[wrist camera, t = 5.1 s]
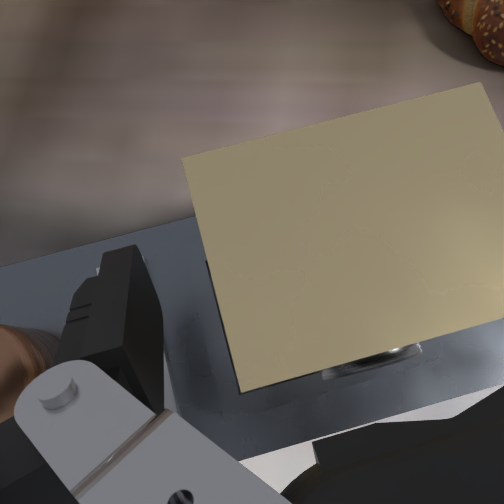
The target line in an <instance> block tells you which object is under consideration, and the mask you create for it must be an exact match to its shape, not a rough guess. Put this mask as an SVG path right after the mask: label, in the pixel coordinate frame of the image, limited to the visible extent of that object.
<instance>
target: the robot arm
mask: <svg viewBox="0 0 504 504" xmlns="http://www.w3.org/2000/svg"><path fill="white" fill-rule="evenodd" d="M69 310H70V312H68V315H67V318H66V325H64V329H63V332H62V336H61V339H60V342H59V346H58V349H57V353H56V356H55V360H54V363H53V366H52V368H50V369H48V370H46V371H45V372H43V373H42V374H40V375H39V376H38V377H36V378H35V379H34V380H33V381H32V382H31V383H30V384H29V385H28V386H27V387H26V388H25V389H24V390H23V392H22V393H21V395H20V396H19V398H18V400H17V402H16V405H15V408H14V416H12V417H11V418H9V419H7V420H5V421H3V422H2V423H0V504H504V386H503V387H502V388H500V389H498V390H497V391H495V392H494V393H492V394H490V395H489V396H487V397H486V398H484V399H483V400H481V401H479V402H478V403H476V404H475V405H473V406H471V407H470V408H468V409H467V410H465V411H463V412H462V413H460V414H459V415H457V416H455V417H453V418H449V419H442V420H424V421H406V422H388V423H375V424H371V425H368V426H365V427H361V428H358V429H354V430H351V431H348V432H344V433H341V434H337V435H334V436H331V437H327V438H324V439H320V440H317V441H314V442H312V445H313V450H314V454H315V459H316V464H315V465H313V466H312V467H310V468H309V469H307V470H306V471H304V472H303V473H302V474H300V475H299V476H298V477H297V478H296V479H294V480H293V481H292V482H291V483H290V484H289V485H288V486H287V487H286V488H285V489H284V490H283V491H282V492H281V493H280V494H279V493H278V492H277V491H275V490H274V489H273V488H271V487H270V486H269V485H268V484H266V483H265V482H264V481H262V480H261V479H260V478H259V477H257V476H256V475H255V474H253V473H252V472H251V471H250V470H248V469H247V468H246V467H244V466H243V465H242V464H241V463H239V462H238V461H237V460H235V459H234V458H233V457H232V456H230V455H229V454H228V453H226V452H225V451H224V450H222V449H221V448H220V447H219V446H217V445H216V444H215V443H213V442H212V441H211V440H210V439H208V438H207V437H206V436H204V435H203V434H202V433H201V432H199V431H198V430H197V429H195V428H194V427H193V426H192V425H190V424H189V423H188V422H186V421H185V420H184V419H183V418H181V417H180V416H179V415H177V414H176V413H175V412H173V411H171V410H169V409H166V408H164V330H163V314H162V309H161V305H160V301H159V298H158V295H157V293H156V290H155V288H154V285H153V283H152V280H151V278H150V275H149V273H148V270H147V268H146V265H145V263H144V260H143V257H142V255H141V253H140V250H139V248H138V247H137V245H135V244H134V245H130V246H126V247H122V248H119V249H115V250H111V251H107V252H104V253H103V255H102V260H101V264H100V269H99V273H98V276H94V277H90V278H86V280H85V281H84V282H83V283H82V284H81V286H80V287H79V288H78V289H77V291H76V292H75V293H74V294H73V298H72V301H71V305H70V308H69Z"/></svg>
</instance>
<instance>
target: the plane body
mask: <svg viewBox="0 0 504 504" xmlns="http://www.w3.org/2000/svg"><path fill="white" fill-rule="evenodd" d="M134 244H135V245H137V247H138V248H139V250H140V253H141V255H142V257H143V260H144V263H145V265H146V268H147V270H148V273H149V275H150V278H151V280H152V283H153V285H154V288H155V290H156V293H157V295H158V298H159V301H160V305H161V309H162V314H163V330H164V408H166V409H169V410H171V411H173V412H175V413H176V414H177V415H179V416H180V417H181V418H183V419H184V420H185V421H186V422H188V423H189V424H190V425H192V426H193V427H194V428H195V429H197V430H198V431H199V432H201V433H202V434H203V435H204V436H206V437H207V438H208V439H210V440H211V441H212V442H213V443H215V444H216V445H217V446H219V447H220V448H221V449H222V450H224V451H225V452H226V453H228V454H229V455H230V456H232V457H233V458H234V459H235V460H237V461H240V460H244V459H247V458H251V457H254V456H258V455H261V454H264V453H268V452H271V451H275V450H278V449H281V448H285V447H288V446H292V445H295V444H298V443H302V442H305V441H309V440H312V439H316V438H319V437H322V436H326V435H329V434H333V433H336V432H339V431H343V430H346V429H350V428H353V427H356V426H360V425H363V424H367V423H370V422H374V421H377V420H380V419H384V418H387V417H391V416H394V415H397V414H401V413H404V412H408V411H411V410H414V409H418V408H421V407H425V406H428V405H432V404H435V403H438V402H442V401H445V400H449V399H452V398H455V397H459V396H462V395H466V394H469V393H473V392H476V391H479V390H483V389H486V388H490V387H493V386H496V385H500V384H503V383H504V318H501V319H498V320H494V321H491V322H487V323H484V324H480V325H477V326H473V327H470V328H466V329H463V330H459V331H456V332H452V333H449V334H445V335H442V336H438V337H435V338H431V339H428V340H424V341H421V342H419V344H420V347H421V350H422V353H421V354H420V355H418V356H415V357H413V358H410V359H407V360H404V361H401V362H398V363H395V364H391V365H388V366H384V367H381V368H377V369H373V370H370V371H366V372H362V373H358V374H353V375H349V376H345V377H340V378H334V379H327V380H322V378H321V375H320V372H319V371H316V372H312V373H309V374H305V375H302V376H298V377H295V378H291V379H288V380H284V381H280V382H277V383H273V384H270V385H266V386H263V387H259V388H256V389H252V390H249V391H245V392H242V393H241V390H240V386H239V382H238V378H237V374H236V371H235V367H234V363H233V359H232V355H231V351H230V347H229V343H228V339H227V335H226V331H225V327H224V323H223V320H222V316H221V312H220V308H219V304H218V300H217V296H216V292H215V288H214V284H213V280H212V276H211V273H210V269H209V265H208V261H207V257H206V253H205V249H204V245H203V241H202V237H201V233H200V229H199V226H198V222H197V218H196V216H193V217H189V218H186V219H182V220H178V221H174V222H170V223H167V224H163V225H159V226H155V227H151V228H148V229H144V230H140V231H136V232H132V233H129V234H125V235H121V236H117V237H113V238H110V239H106V240H102V241H98V242H94V243H90V244H87V245H83V246H79V247H75V248H71V249H68V250H64V251H60V252H56V253H52V254H49V255H45V256H41V257H37V258H33V259H30V260H26V261H22V262H18V263H14V264H11V265H7V266H3V267H0V423H2V422H3V421H5V420H7V419H9V418H11V417H12V416H14V408H15V405H16V402H17V400H18V398H19V396H20V395H21V393H22V392H23V390H24V389H25V388H26V387H27V386H28V385H29V384H30V383H31V382H32V381H33V380H34V379H35V378H36V377H38V376H39V375H40V374H42V373H43V372H45V371H46V370H48V369H50V368H52V366H53V363H54V360H55V356H56V353H57V349H58V346H59V342H60V339H61V336H62V332H63V329H64V325H66V318H67V315H68V312H70V310H69V308H70V305H71V301H72V298H73V294H74V293H75V292H76V291H77V289H78V288H79V287H80V286H81V284H82V283H83V282H84V281H85V280H86V278H90V277H94V276H98V273H99V269H100V264H101V260H102V255H103V253H104V252H107V251H111V250H115V249H119V248H122V247H126V246H130V245H134Z"/></svg>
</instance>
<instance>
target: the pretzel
mask: <svg viewBox="0 0 504 504" xmlns="http://www.w3.org/2000/svg"><path fill="white" fill-rule="evenodd" d="M438 4H439V5H440V6H441V8H442V10H443V13H444V14H445V16H446V17H447V18H448V19H449V20H450V22H451V24H452V25H455V26H456V27H458V28H459V29H461V30H463V31H464V32H466V33H467V34H469V35H471V36H473V40H474V42H475V44H476V46H477V48H478V50H479V51H480V52H481V54H482V55H483V56H484V57H485V58H487V59H488V60H489V61H491V62H493V63H495V64H498V65H501V66H504V0H438Z"/></svg>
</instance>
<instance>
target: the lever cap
mask: <svg viewBox="0 0 504 504" xmlns="http://www.w3.org/2000/svg"><path fill="white" fill-rule="evenodd" d="M181 159H182V163H183V167H184V171H185V175H186V179H187V182H188V186H189V190H190V194H191V198H192V202H193V206H194V210H195V214H196V218H197V222H198V226H199V229H200V233H201V237H202V241H203V245H204V249H205V253H206V257H207V261H208V265H209V269H210V273H211V276H212V280H213V284H214V288H215V292H216V296H217V300H218V304H219V308H220V312H221V316H222V320H223V323H224V327H225V331H226V335H227V339H228V343H229V347H230V351H231V355H232V359H233V363H234V367H235V371H236V374H237V378H238V382H239V386H240V390H241V393H242V392H245V391H249V390H252V389H256V388H259V387H263V386H266V385H270V384H273V383H277V382H280V381H284V380H288V379H291V378H295V377H298V376H302V375H305V374H309V373H312V372H316V371H319V372H320V375H321V378H322V380H327V379H334V378H340V377H345V376H349V375H353V374H358V373H362V372H366V371H370V370H373V369H377V368H381V367H384V366H388V365H391V364H395V363H398V362H401V361H404V360H407V359H410V358H413V357H415V356H418V355H420V354H421V353H422V350H421V347H420V344H419V342H421V341H424V340H428V339H431V338H435V337H438V336H442V335H445V334H449V333H452V332H456V331H459V330H463V329H466V328H470V327H473V326H477V325H480V324H484V323H487V322H491V321H494V320H498V319H501V318H504V131H503V129H502V127H501V125H500V123H499V120H498V118H497V116H496V114H495V112H494V109H493V107H492V105H491V103H490V101H489V98H488V96H487V94H486V92H485V90H484V88H483V85H482V83H481V82H477V83H473V84H469V85H466V86H462V87H458V88H454V89H450V90H446V91H442V92H438V93H434V94H430V95H426V96H422V97H419V98H415V99H411V100H407V101H403V102H399V103H395V104H391V105H387V106H383V107H379V108H376V109H372V110H368V111H364V112H360V113H356V114H352V115H348V116H344V117H340V118H336V119H332V120H329V121H325V122H321V123H317V124H313V125H309V126H305V127H301V128H297V129H293V130H289V131H285V132H282V133H278V134H274V135H270V136H266V137H262V138H258V139H254V140H250V141H246V142H242V143H238V144H235V145H231V146H227V147H223V148H219V149H215V150H211V151H207V152H203V153H199V154H195V155H192V156H188V157H184V158H181Z"/></svg>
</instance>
